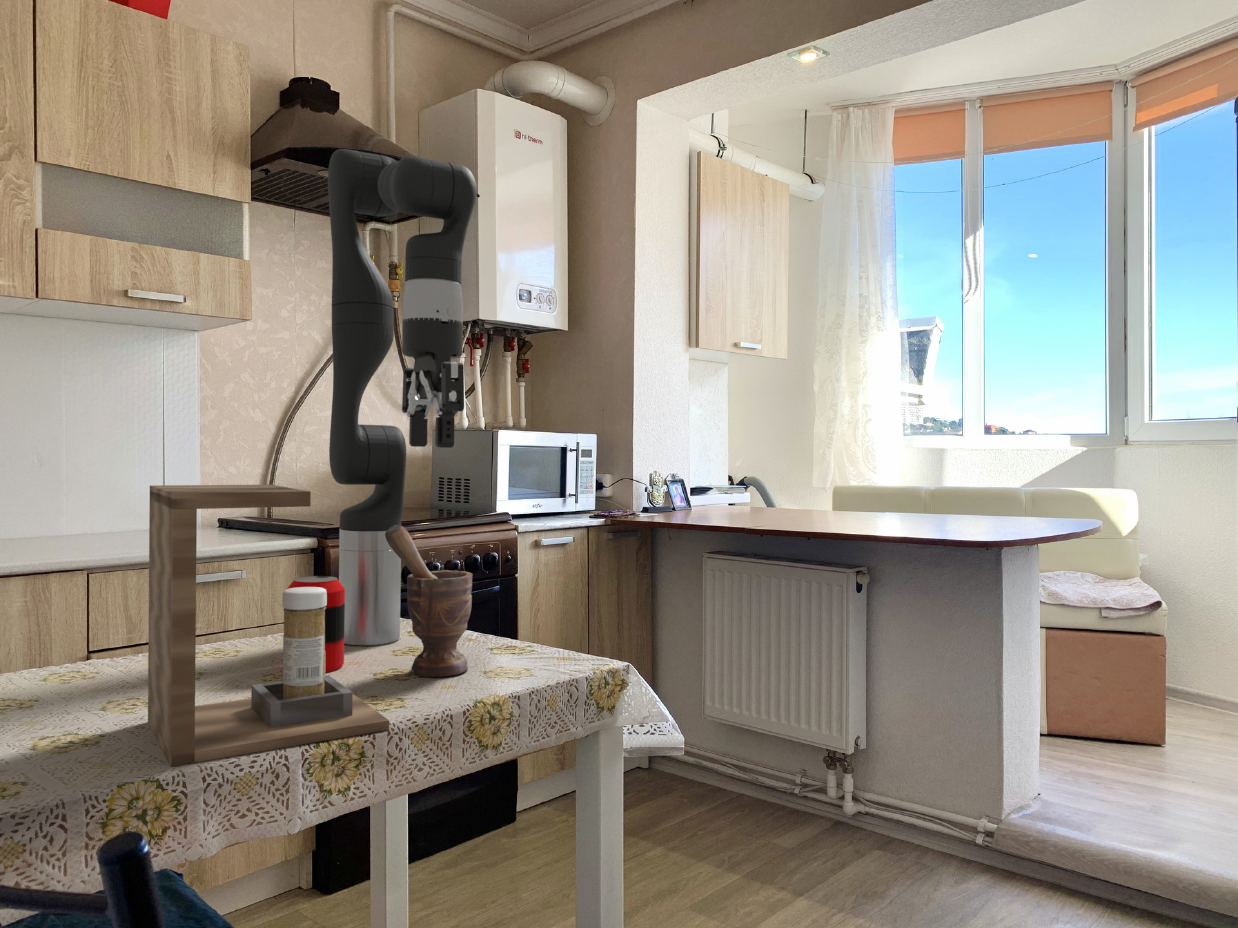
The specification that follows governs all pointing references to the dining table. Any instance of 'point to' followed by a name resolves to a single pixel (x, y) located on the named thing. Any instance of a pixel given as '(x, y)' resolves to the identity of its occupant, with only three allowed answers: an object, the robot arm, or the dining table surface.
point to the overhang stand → (174, 647)
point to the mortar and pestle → (434, 608)
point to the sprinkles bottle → (304, 641)
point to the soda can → (330, 617)
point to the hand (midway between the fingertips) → (431, 447)
